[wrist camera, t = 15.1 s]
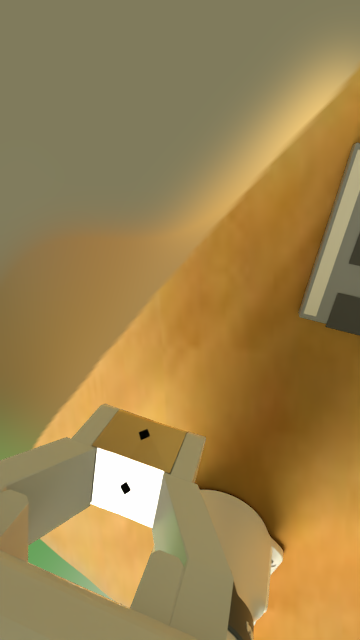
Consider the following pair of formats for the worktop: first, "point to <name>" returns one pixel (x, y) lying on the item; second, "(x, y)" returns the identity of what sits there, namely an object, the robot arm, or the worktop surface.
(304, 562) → the worktop surface
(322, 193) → the worktop surface
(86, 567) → the worktop surface
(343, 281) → the panel
